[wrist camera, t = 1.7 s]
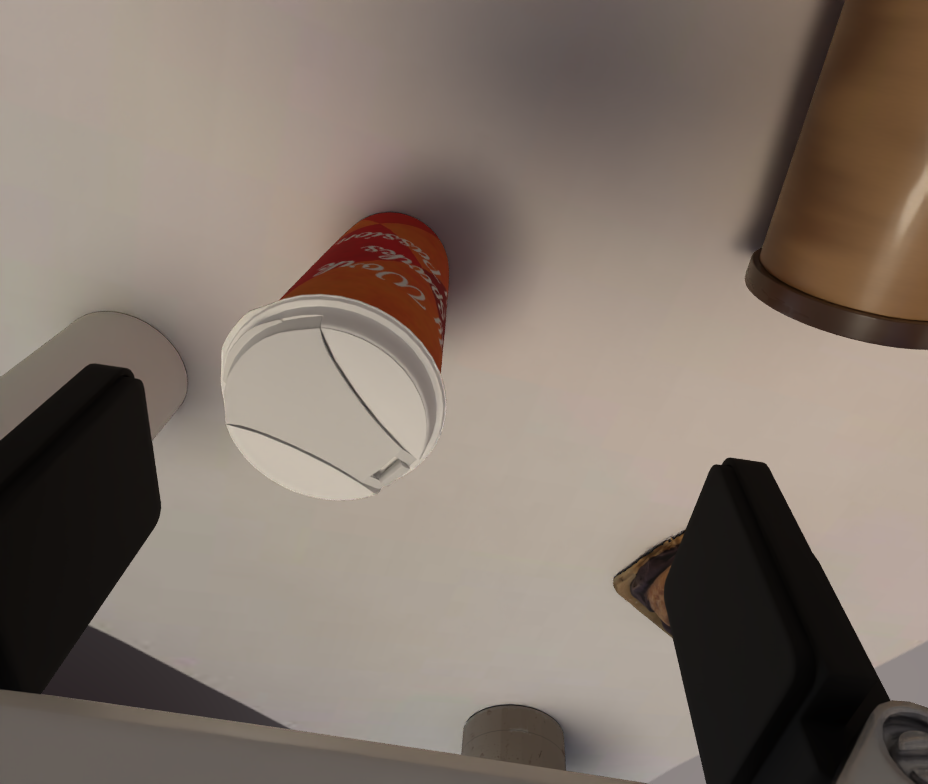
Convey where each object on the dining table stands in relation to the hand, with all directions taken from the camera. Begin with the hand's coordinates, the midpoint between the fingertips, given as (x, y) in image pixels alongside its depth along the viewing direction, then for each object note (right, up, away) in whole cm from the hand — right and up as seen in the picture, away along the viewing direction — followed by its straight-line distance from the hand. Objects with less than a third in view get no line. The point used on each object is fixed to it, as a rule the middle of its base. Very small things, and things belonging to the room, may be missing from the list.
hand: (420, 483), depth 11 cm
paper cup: (-3, +8, +23) cm, 24 cm away
